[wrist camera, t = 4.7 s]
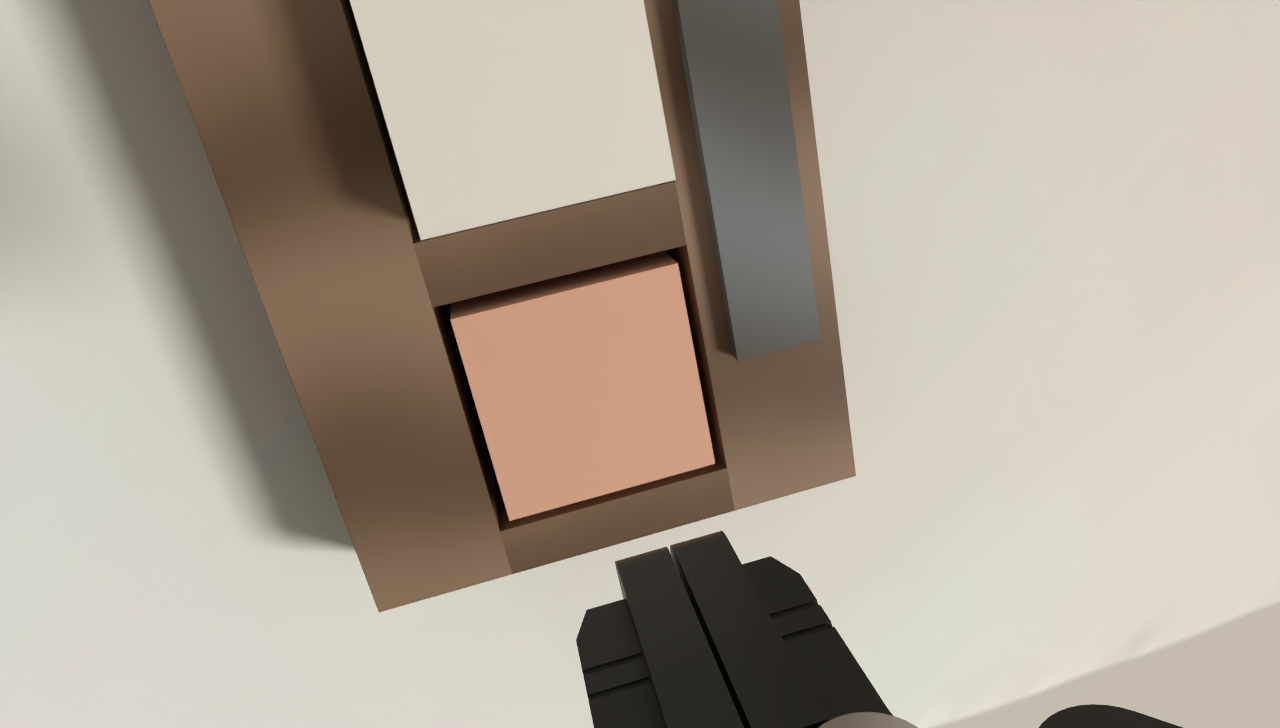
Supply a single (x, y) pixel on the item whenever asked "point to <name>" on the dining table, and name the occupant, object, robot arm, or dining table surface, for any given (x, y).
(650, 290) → the key terracotta
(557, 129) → the key ivory
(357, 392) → the brown wooden flat block
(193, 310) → the dining table surface
